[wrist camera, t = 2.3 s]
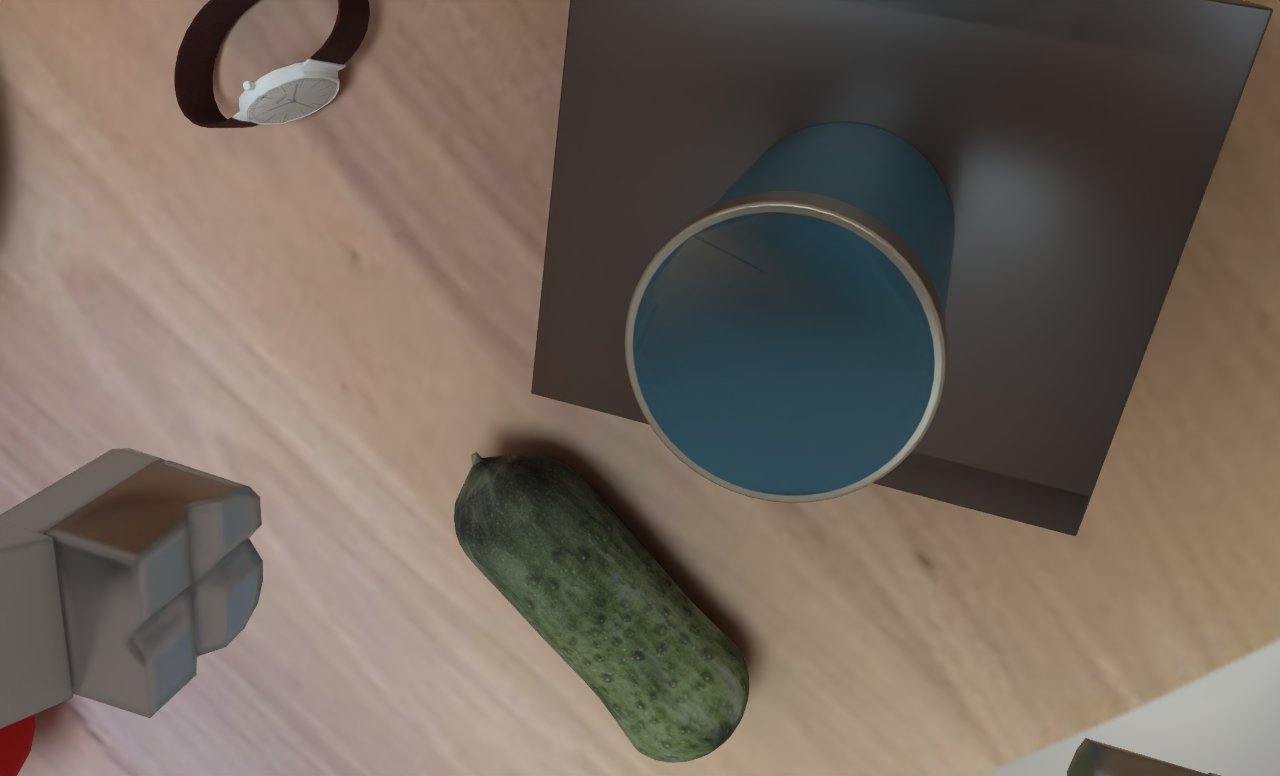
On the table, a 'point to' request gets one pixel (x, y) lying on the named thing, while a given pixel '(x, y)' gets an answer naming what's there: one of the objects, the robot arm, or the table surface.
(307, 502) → the table surface
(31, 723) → the tomato
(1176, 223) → the brown box
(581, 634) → the vegetable
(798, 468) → the enamel canister
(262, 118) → the watch
